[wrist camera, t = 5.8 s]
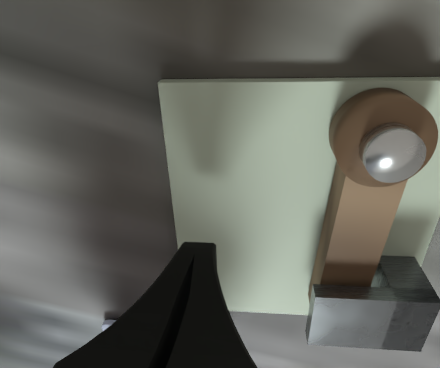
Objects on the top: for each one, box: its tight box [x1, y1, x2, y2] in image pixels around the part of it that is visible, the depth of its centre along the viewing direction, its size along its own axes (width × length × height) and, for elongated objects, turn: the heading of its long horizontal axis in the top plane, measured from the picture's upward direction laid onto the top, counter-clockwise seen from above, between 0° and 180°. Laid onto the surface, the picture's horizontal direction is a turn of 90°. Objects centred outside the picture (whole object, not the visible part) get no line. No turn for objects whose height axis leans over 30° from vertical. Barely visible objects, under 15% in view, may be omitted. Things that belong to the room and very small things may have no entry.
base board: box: [158, 77, 440, 315], centre depth 17 cm, size 14×13×1 cm
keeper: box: [306, 255, 440, 352], centre depth 17 cm, size 4×6×3 cm, turn 92°
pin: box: [359, 122, 426, 183], centre depth 12 cm, size 2×2×1 cm
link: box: [308, 88, 438, 304], centre depth 15 cm, size 12×4×2 cm, turn 179°
